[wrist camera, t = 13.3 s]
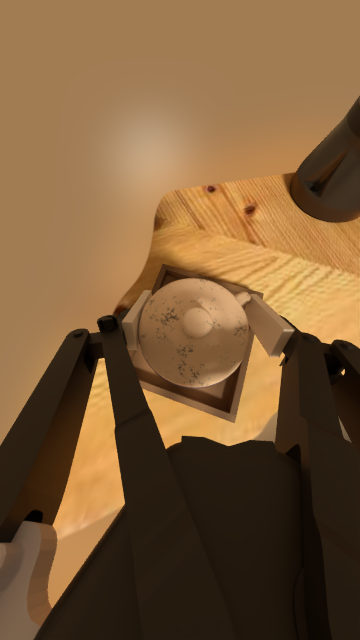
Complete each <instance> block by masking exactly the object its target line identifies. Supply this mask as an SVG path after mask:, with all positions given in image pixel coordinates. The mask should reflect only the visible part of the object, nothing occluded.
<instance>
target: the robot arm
mask: <svg viewBox="0 0 360 640" xmlns="http://www.w3.org/2000/svg"><path fill="white" fill-rule="evenodd" d="M290 189H291V194H292V196H293V199H294V200H295V202H296V203H297V204H298V206H299V207H300V208H301V209H302V210H304V211H305V212H306V213H308V214H309V215H311V216H313V217H315V218H318V219H320V220H324V221H328V222H347V221H351V220H354V219H356V218H358V217H360V96H359V97H358V99H357V101H356V102H355V103H354V105H353V106H352V107H351V109H350V110H349V112H348V113H347V115H346V116H345V117H344V119H343V120H342V121H341V122H340V123H339V124H338V125H337V126H336V127H335V128H334V130H333V131H331V133H330V134H329V135H328V136H327V137H326V138H325V139H324V140H323V141H322V142H321V143H320V144H319V145H318V146H317V147H316V148H315V149H314V150H313V151H312V152H311V154H309V156H308V157H307V158H306V159H305V160H304V161H303V163H302V164H301V165H300V167H299V168H298V170H297V171H296V173H295V174H294V176H293V178H292V180H291V184H290ZM249 295H250V297H251V300H250V301H249V302H248V303H247V304H246V306H245V310H244V312H245V314H246V317H247V321H248V324H249V326H250V327H251V329H252V330H253V332H254V333H255V335H256V337H257V338H258V340H259V341H260V343H261V344H262V346H263V347H264V349H265V350H266V352H267V353H268V355H269V357H280V355H281V353H282V352H283V353H284V354H285V357H284V359H283V360H282V362H281V364H280V365H279V366H281V365H282V376H281V386H280V397H279V407H278V418H277V428H276V439H275V444H274V443H273V442H272V441H257V440H249V441H246V442H242V443H239V444H235V445H232V446H226V445H223V444H220V443H218V442H215V441H213V440H210V439H207V438H205V437H193V436H182V439H181V442H180V443H176V444H174V445H172V446H170V447H169V448H167V449H165V446H164V443H163V441H162V438H161V435H160V433H159V430H158V427H157V424H156V422H155V419H154V416H153V414H152V412H151V410H150V409H149V407H148V404H147V401H146V398H145V396H144V393H143V390H142V388H141V385H140V382H139V379H138V377H137V374H136V371H135V368H134V366H133V363H132V360H131V357H130V355H129V352H128V350H138V347H139V345H140V344H139V336H138V333H139V322H140V317H141V314H142V312H143V309H144V307H145V306H146V304H147V302H148V301H149V299H150V298H151V297H152V291H151V290H144V291H143V293H142V294H141V296H140V297H139V298H138V300H137V301H136V303H135V304H134V305H133V307H132V308H131V310H130V309H126V310H124V311H122V312H121V313H120V315H119V316H118V317H116V316H114V315H107V316H103V317H101V318H99V319H98V321H97V324H98V327H99V330H100V332H97V333H91V334H90V333H89V331H88V330H87V329H77V330H74V331H72V332H70V333H69V334H68V335H67V336H66V338H65V340H64V341H63V343H62V345H61V346H60V348H59V350H58V352H57V353H56V355H55V356H54V358H53V360H52V361H51V363H50V365H49V366H48V368H47V370H46V371H45V373H44V375H43V376H42V378H41V379H40V381H39V383H38V385H37V386H36V388H35V390H34V391H33V393H32V394H31V396H30V398H29V399H28V401H27V403H26V404H25V406H24V408H23V409H22V411H21V413H20V414H19V416H18V418H17V419H16V421H15V422H14V424H13V426H12V428H11V429H10V431H9V433H8V434H7V436H6V437H5V439H4V441H3V442H2V444H1V446H0V640H360V349H359V348H358V347H357V346H355V345H353V344H352V343H350V342H347V341H343V340H334V341H333V343H332V344H326V343H322V342H321V341H320V340H319V339H318V338H317V337H315V336H313V335H311V334H308V333H303V332H300V331H299V330H298V329H297V328H296V327H295V326H294V325H292V324H291V323H290V322H289V321H288V320H287V319H286V318H284V317H282V316H280V315H278V314H277V313H276V312H275V311H274V310H273V309H272V308H271V307H270V306H269V305H267V304H266V303H265V302H264V301H263V300H262V299H261V298H260V297H259V296H258V295H257V294H249ZM126 345H127V346H126ZM127 348H128V349H127ZM100 358H105V364H106V370H107V376H108V382H109V388H110V394H111V401H112V407H113V413H114V419H115V440H116V446H117V453H118V459H119V466H120V473H121V479H122V486H123V492H124V499H125V504H124V506H123V507H122V509H121V510H120V512H119V513H118V515H117V516H116V518H115V519H114V521H113V522H112V523H111V525H110V526H109V528H108V529H107V531H106V532H105V534H104V535H103V536H102V538H101V539H100V541H99V542H98V544H97V545H96V546H95V548H94V549H93V551H92V552H91V554H90V555H89V556H88V558H87V559H86V561H85V562H84V564H83V565H82V567H81V568H80V570H79V571H78V572H77V574H76V575H75V577H74V578H73V580H72V581H71V583H70V584H69V585H68V587H67V588H66V590H65V591H64V593H63V594H62V596H61V597H60V599H59V600H58V601H57V603H56V604H55V606H54V607H53V609H52V608H51V605H50V603H49V601H48V591H47V588H48V580H49V574H50V570H51V567H52V563H53V560H54V556H55V552H56V547H57V534H56V531H55V529H54V528H53V526H52V525H53V523H54V520H55V518H56V515H57V512H58V509H59V507H60V504H61V501H62V498H63V495H64V491H65V488H66V485H67V481H68V477H69V473H70V470H71V466H72V462H73V458H74V454H75V450H76V446H77V442H78V438H79V434H80V430H81V426H82V422H83V418H84V414H85V410H86V406H87V403H88V399H89V395H90V391H91V387H92V383H93V379H94V375H95V371H96V367H97V363H98V359H100ZM344 369H345V374H344V375H342V373H341V372H342V371H343V370H344ZM338 416H339V418H340V420H341V422H342V424H343V426H344V428H345V430H346V432H347V434H348V436H349V438H350V440H351V442H352V443H351V442H349V441H347V440H345V439H344V437H343V435H342V430H341V426H340V422H339V418H338Z"/></svg>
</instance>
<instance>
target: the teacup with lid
mask: <svg viewBox="0 0 360 640" xmlns="http://www.w3.org/2000/svg"><path fill="white" fill-rule="evenodd" d="M250 300H251V297H250V295H249V294H248V293H247V292H245V291H244V292H240V293H238V294H237V295H235V296H234V295H233V294H232V293H230V292H229V291H228V290H227V289H225V288H224V287H222V286H221V285H219V284H217V283H215V282H212V281H209V280H205V279H199V278H187V279H181V280H177V281H174V282H171V283H169V284H167V285H165V286H164V287H162V288H161V289H159V290H158V291H157V292H156V293H155V294H154V295H153V296H152V297H151V298H150V299H149V301H148V302H147V304H146V306H145V307H144V309H143V312H142V314H141V317H140V322H139V333H138V336H139V344H140V348H141V351H142V353H143V356H144V358H145V360H146V361H147V363H148V364H149V366H150V367H151V368H152V369H153V370H154V371H155V372H156V374H158V375H159V376H160V377H161V378H163V379H164V380H166V381H168V382H170V383H172V384H174V385H177V386H181V387H185V388H204V387H208V386H212V385H215V384H217V383H219V382H221V381H223V380H224V379H226V378H227V377H229V376H230V375H231V374H232V373H233V372H234V371H235V370H236V369H237V367H238V366H239V365H240V363H241V362H242V360H243V358H244V356H245V354H246V351H247V347H248V343H249V325H248V321H247V317H246V314H245V312H244V310H243V308H242V307H243V306H244V305H246V304H247V303H248V302H249V301H250Z"/></svg>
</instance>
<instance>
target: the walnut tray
mask: <svg viewBox="0 0 360 640" xmlns="http://www.w3.org/2000/svg"><path fill="white" fill-rule="evenodd" d="M187 278H199V279H205V280H209V281H212V282H215V283H217V284H219V285H221V286H222V287H224V288H225V289H227V290H228V291H229V292H230V293H232V294H233V295H234V296H235V295H237V294H238V293H240V292H244V291H245V292H247V293H248V294H257V295H258V296H259V297H260V298H261V299H263V293H260V292H257V291H253V290H250V289H246V288H243V287H240V286H236V285H233V284H229V283H226V282H223V281H219V280H216V279H213V278H209V277H206V276H202V275H199V274H196V273H192V272H189V271H185V270H182V269H179V268H175V267H172V266H169V265H165V264H163V265H162V268H161V270H160V273H159V275H158V278H157V280H156V283H155V285H154V287H153V290H152V296H153V295H154V294H155V293H156V292H157V291H158V290H159V289H161V288H162V287H164V286H165V285H167V284H169V283H171V282H174V281H177V280H181V279H187ZM245 306H246V305H244V306H243V307H242V308H243V310H245ZM248 325H249V324H248ZM254 334H255V333H254V332H253V330H252V329H251V327H250V326H249V343H248V347H247V351H246V354H245V356H244V358H243V360H242V362H241V363H240V365H239V366H238V367H237V369H236V370H235V371H234V372H233V373H232V374H231V375H230V376H229V377H227V378H226V379H224V380H223V381H221V382H219V383H217V384H215V385H212V386H208V387H204V388H185V387H181V386H177V385H174V384H172V383H170V382H168V381H166V380H164V379H163V378H161V377H160V376H159V375H158V374H156V372H155V371H154V370H153V369H152V368H151V367H150V366H149V364H148V363H147V361H146V360H145V358H144V356H143V353H142V351H141V348H140V345H139V347H138V350H128V352H129V355H130V357H131V360H132V363H133V366H134V368H135V371H136V374H137V377H138V379H139V382H140V385H141V388H143V389H145V390H148V391H151V392H153V393H156V394H159V395H161V396H164V397H167V398H169V399H172V400H174V401H177V402H180V403H182V404H185V405H188V406H190V407H193V408H196V409H198V410H201V411H204V412H206V413H209V414H212V415H214V416H217V417H220V418H222V419H225V420H227V421H230V422H233V423H235V419H236V414H237V410H238V406H239V401H240V397H241V392H242V388H243V383H244V379H245V374H246V370H247V365H248V361H249V357H250V352H251V348H252V343H253V339H254Z"/></svg>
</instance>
